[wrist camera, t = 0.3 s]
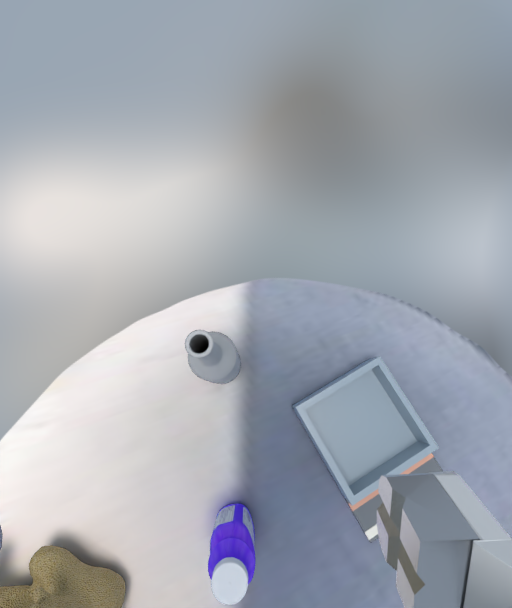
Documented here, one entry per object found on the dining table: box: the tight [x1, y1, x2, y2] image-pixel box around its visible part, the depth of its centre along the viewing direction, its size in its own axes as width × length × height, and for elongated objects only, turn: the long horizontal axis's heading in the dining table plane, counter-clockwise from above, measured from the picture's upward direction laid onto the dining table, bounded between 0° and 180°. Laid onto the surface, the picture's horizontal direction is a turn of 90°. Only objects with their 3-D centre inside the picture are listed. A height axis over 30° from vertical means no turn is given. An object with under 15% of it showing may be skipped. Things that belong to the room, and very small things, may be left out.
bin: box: [292, 356, 439, 506], centre depth 56 cm, size 16×16×5 cm
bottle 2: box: [208, 504, 255, 605], centre depth 46 cm, size 7×6×17 cm
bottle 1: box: [185, 330, 241, 384], centre depth 47 cm, size 7×7×28 cm
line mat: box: [345, 453, 443, 543], centre depth 56 cm, size 7×16×1 cm, turn 120°
